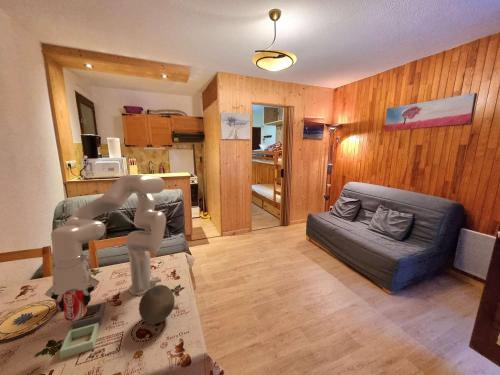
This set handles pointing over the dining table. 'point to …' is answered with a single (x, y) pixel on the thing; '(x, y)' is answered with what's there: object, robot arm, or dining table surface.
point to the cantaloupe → (156, 304)
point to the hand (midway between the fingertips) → (75, 305)
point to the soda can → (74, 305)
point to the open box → (83, 332)
